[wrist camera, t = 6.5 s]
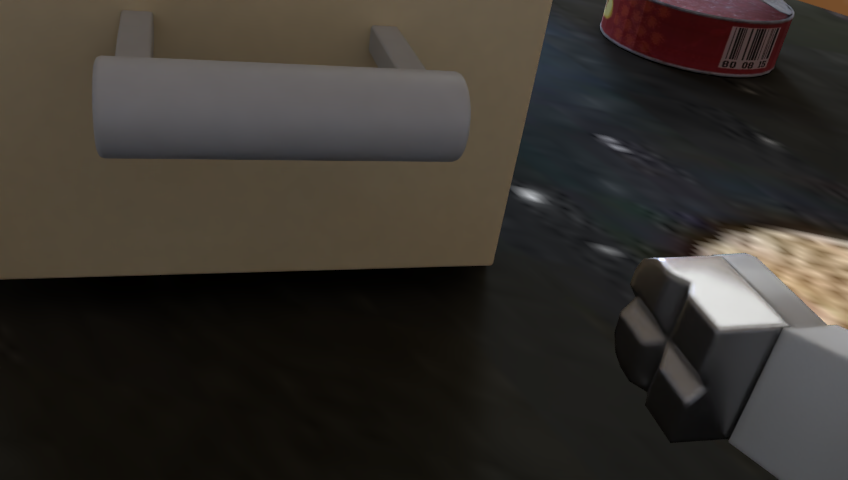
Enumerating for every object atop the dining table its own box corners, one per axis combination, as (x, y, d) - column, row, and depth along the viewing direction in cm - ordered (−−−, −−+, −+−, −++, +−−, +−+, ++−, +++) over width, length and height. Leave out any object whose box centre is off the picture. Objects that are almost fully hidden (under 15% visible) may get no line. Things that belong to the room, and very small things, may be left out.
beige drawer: (562, 389, 18) (708, -76, 13) (-84, 441, 14) (-244, -180, 9) (379, 65, 34) (412, -205, 28) (47, 50, 30) (14, -263, 25)
